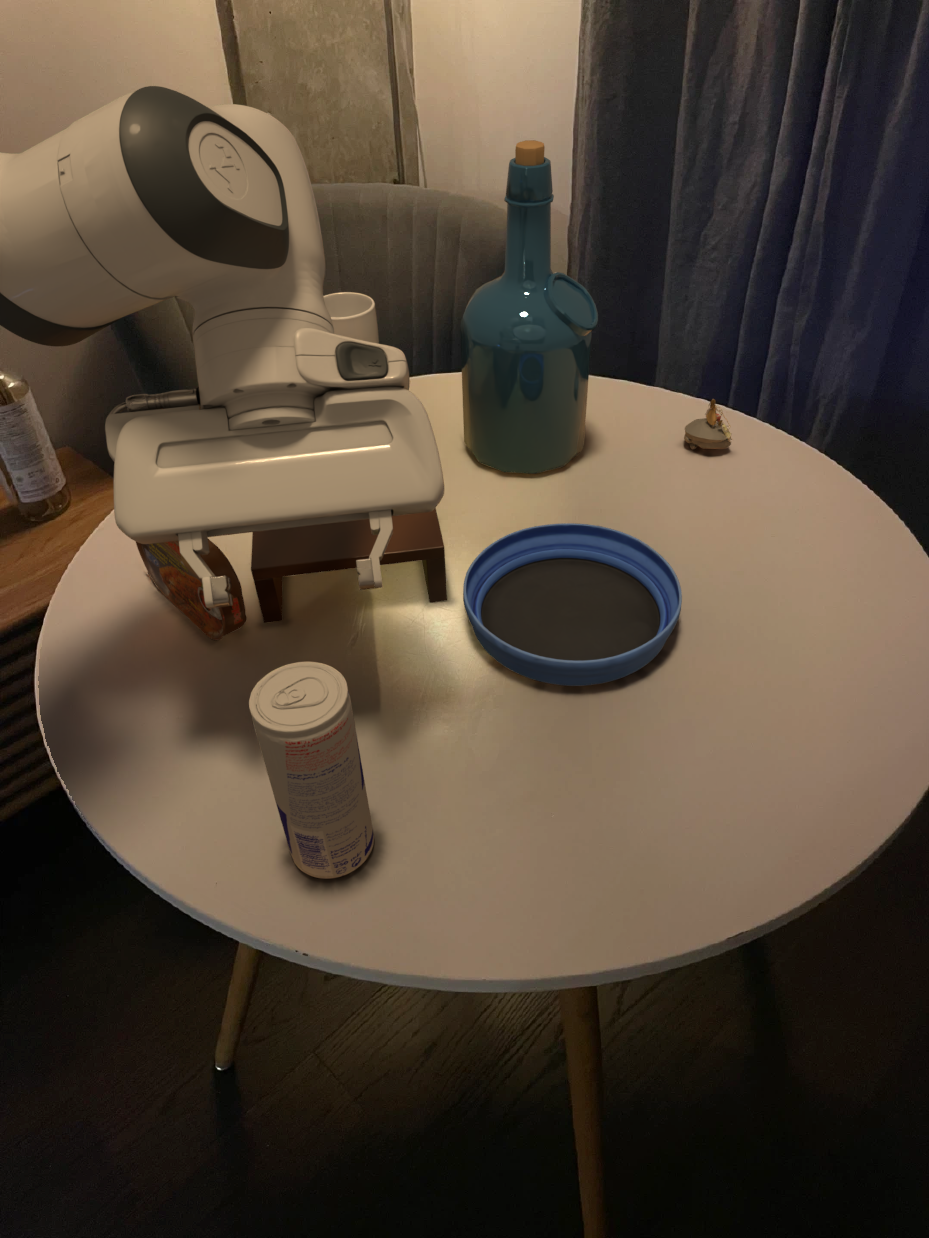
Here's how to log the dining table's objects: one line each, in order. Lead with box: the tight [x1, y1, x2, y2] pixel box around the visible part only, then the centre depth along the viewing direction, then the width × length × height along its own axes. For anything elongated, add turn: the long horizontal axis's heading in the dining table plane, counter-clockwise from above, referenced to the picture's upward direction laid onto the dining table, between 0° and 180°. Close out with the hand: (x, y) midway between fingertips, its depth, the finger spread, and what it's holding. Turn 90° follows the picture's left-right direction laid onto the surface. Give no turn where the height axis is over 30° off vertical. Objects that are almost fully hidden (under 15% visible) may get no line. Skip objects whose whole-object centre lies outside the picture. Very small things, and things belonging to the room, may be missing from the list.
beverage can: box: [248, 661, 375, 879], centre depth 55 cm, size 6×6×15 cm
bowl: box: [462, 522, 683, 687], centre depth 75 cm, size 18×18×4 cm
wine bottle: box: [459, 139, 599, 475], centre depth 87 cm, size 14×13×30 cm
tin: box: [134, 538, 248, 641], centre depth 76 cm, size 15×3×8 cm, turn 42°
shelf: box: [250, 507, 448, 624], centre depth 80 cm, size 16×12×6 cm
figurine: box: [683, 398, 734, 450], centre depth 94 cm, size 5×4×6 cm
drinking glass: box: [323, 291, 380, 344], centre depth 95 cm, size 7×7×15 cm
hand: (296, 597), depth 56 cm, fingers open, 8 cm apart
